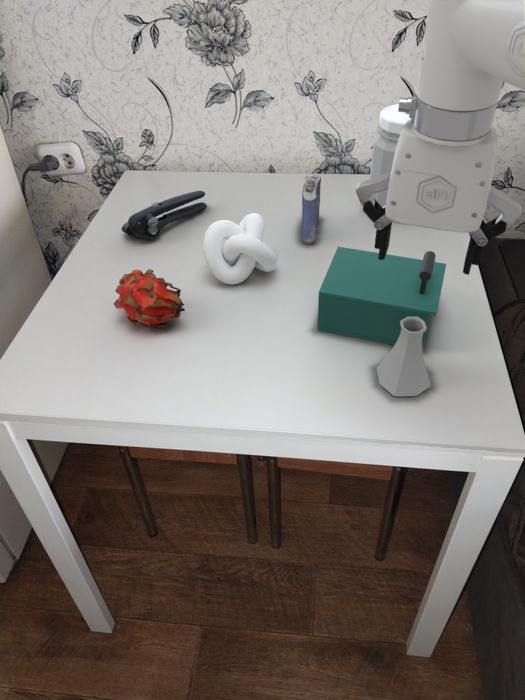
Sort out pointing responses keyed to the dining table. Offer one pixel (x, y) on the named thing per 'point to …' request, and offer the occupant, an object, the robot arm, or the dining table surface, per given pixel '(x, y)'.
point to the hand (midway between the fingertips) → (424, 260)
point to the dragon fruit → (148, 299)
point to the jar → (386, 145)
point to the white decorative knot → (237, 249)
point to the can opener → (150, 226)
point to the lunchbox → (363, 320)
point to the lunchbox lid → (385, 280)
